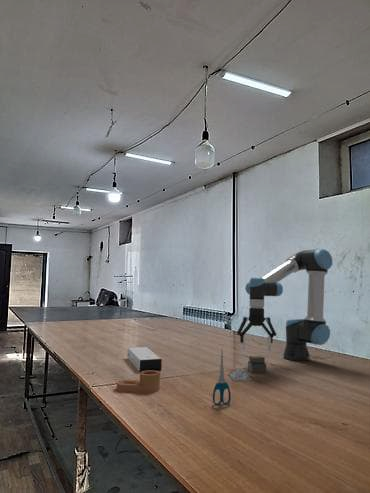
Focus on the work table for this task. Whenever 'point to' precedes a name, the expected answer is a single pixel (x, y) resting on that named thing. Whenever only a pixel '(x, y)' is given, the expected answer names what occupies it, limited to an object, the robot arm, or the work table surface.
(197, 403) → the work table surface
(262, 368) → the knob
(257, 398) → the work table surface
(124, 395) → the work table surface
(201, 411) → the work table surface
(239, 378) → the mounting plate
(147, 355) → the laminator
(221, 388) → the scissors
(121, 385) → the bracket
